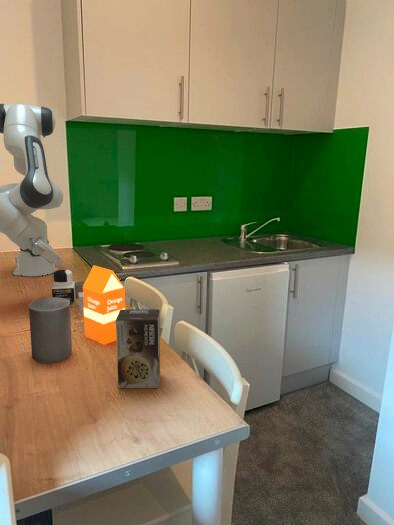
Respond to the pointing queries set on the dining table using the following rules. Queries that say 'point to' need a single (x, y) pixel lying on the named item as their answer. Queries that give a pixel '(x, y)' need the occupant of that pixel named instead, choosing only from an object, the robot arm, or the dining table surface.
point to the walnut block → (78, 288)
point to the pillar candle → (50, 329)
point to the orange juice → (102, 304)
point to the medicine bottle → (64, 286)
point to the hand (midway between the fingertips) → (62, 263)
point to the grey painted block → (81, 301)
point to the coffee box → (138, 348)
